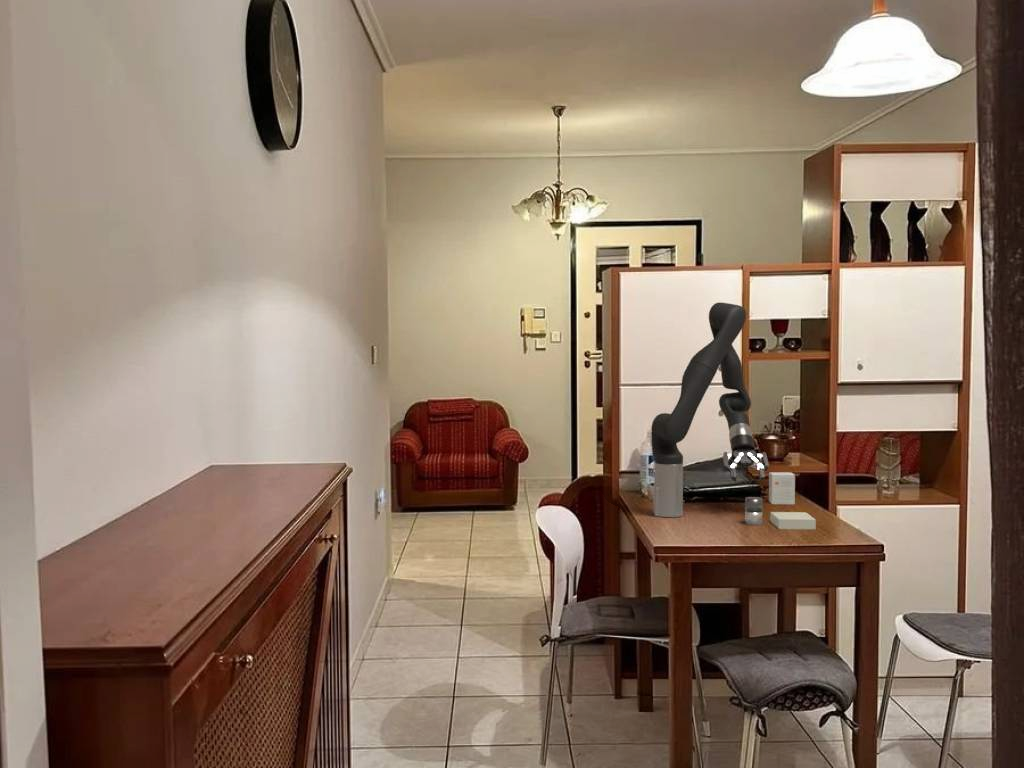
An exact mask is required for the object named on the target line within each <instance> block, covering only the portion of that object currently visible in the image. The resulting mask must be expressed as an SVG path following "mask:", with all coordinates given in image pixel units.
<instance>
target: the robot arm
mask: <svg viewBox="0 0 1024 768" xmlns="http://www.w3.org/2000/svg"><path fill="white" fill-rule="evenodd" d="M708 321H709V326H710V331H711V334H712V338H713V339H712V341H710V342H709V343H707V345H705V346H704V347H703V348H701V349H700V350H699V351H698V352H696V353H695V354H694V355H693V356H692V357H691V358H690V361H689V362H688V364H687V366H686V368H685V370H684V372H683V375H682V379H681V385H680V386H681V387H680V388H681V389H680V390H681V391H680V395H679V399H678V401H677V403H676V404H675V407H674V408H673V410H672V411H671V413H668V412H665V413H663V412H662V413H659V414H658V415H656V416H655V417H654V418H653V420H652V423H651V450H652V451H651V452H652V454H653V458H654V467H653V469H654V471H653V473H654V475H653V476H654V478H653V479H654V481H653V482H654V483H653V485H652V486H653V488H652V489H653V490H652V491H653V493H652V495H653V498H652V499H653V500H652V501H653V504H652V505H653V506H652V508H653V509H652V510H653V511H652V513H653V514H654V516H655V517H660V518H679V517H682V516H683V515H684V514H683V510H684V509H683V505H684V504H683V502H684V500H683V499H684V498H683V497H684V496H683V495H684V490H683V489H684V488H683V487H684V456H683V453H681V451H680V450H679V449H678V445H677V444H678V443H681V442H682V441H683V440H684V439H685V438H686V437H687V434H688V433H689V431H690V427H691V426H692V423H693V420H694V417H695V415H696V413H697V411H698V408H699V406H700V404H701V402H702V400H703V398H704V397H705V395H706V392H707V390H708V388H709V387H710V385H711V383H712V381H713V380H714V377H715V375H716V374H717V371H718V369H719V367H720V373H721V381H722V386H723V387H724V388H725V389H726V390H727V389H728V390H735V391H736V392H729V393H728V392H727V393H723V394H722V395H721V396H720V397H719V400H718V404H719V405H718V406H719V407H720V408H719V409H720V411H721V412H722V414H723V415H724V417H725V419H726V421H727V422H726V423H727V427H728V431H729V433H728V436H729V444H730V449H731V453H728V452H727V451H723V454H722V464H723V471H725V472H727V471H728V472H729V474H730V479H731V480H732V481H733V482H736V481H737V473H736V471H737V470H736V469H737V468H738V467H739V466H740V467H752V468H753V469H755V470H757V472H758V476H759V477H758V478H759V482H763V481H764V480H765V479H766V478H765V477H766V473H765V472H768V470H769V467H770V462H769V460H768V456H767V453H766V451H762V452H761V453H757V451H756V448H755V447H756V446H755V443H754V442H755V441H754V437H753V432H752V429H751V425H750V420H749V416H748V415H747V413H745V412H747V411H749V410H750V409H751V406H752V401H751V398H750V396H749V392H748V391H747V389H746V386H745V382H744V375H743V365H742V362H741V358H740V357H739V354H738V352H737V351H736V349H735V348H734V346H733V343H734V342H735V340H736V339H737V337H738V336H739V334H740V333H741V331H742V330H743V327H744V326H745V324H746V321H747V310H746V309H745V307H743V306H742V305H739V304H735V303H727V302H715V303H713V305H712V306H711V308H710V309H709V312H708ZM730 459H731V460H732V461H733V462H732V464H731V465H729V461H730Z"/></svg>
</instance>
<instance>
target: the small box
mask: <svg viewBox="0 0 1024 768" xmlns="http://www.w3.org/2000/svg"><path fill="white" fill-rule="evenodd" d="M795 490H796V475H795V474H794V473H792V471H791V472H787V471H786V472H783V471H782V472H778V471H776V472H774V471H773V472H768V502H769V503H770V504H771V505H788V506H789V505H793V506H794V505H796V498H795V497H796V491H795Z"/></svg>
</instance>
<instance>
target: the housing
mask: <svg viewBox="0 0 1024 768" xmlns="http://www.w3.org/2000/svg"><path fill="white" fill-rule="evenodd" d="M763 499H764V498H762V497H758V496H748V497H747V496H746V497H745V499H744V501H745V503H744V506H745V507H744V524H745V525H749V526H762V525H763V504H764V503H763Z"/></svg>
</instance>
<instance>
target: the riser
mask: <svg viewBox="0 0 1024 768" xmlns="http://www.w3.org/2000/svg"><path fill="white" fill-rule="evenodd" d="M769 517H770V519H769V520H770V523H771V524H773V525H774V526H775V528H777V529H778V530H816V528H817V526H816V525H817V523H816V522H817V521H816V520H817V519H815V518H814V517H813V516H811V515H810V514H809V513H807V512H804V511H803V512H800V511H799V512H798V511H797V512H795V511H787V512H786V511H770V516H769Z"/></svg>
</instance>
